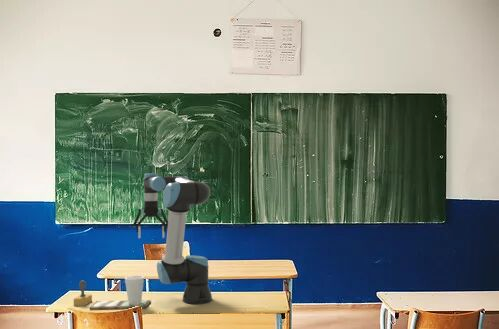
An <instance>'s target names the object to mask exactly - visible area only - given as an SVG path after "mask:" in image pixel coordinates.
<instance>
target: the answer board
mask: <svg viewBox="0 0 499 329" xmlns="http://www.w3.org/2000/svg"><path fill="white" fill-rule="evenodd" d="M151 301H152V300H149V299H141V303H140V304H136V305H131V304H129V303H128V299H127V300H96V301H94V303H93V304H92V305H91V306H90V307H89V311H92V310H93V311H94V310H95V311H96V310H97V311H99V310H105V311H106V310H107V311H108V310H129V309H128V308H132V307H135V306H141V307H142V309H141V310H147V309H148V307H149V305H150V304H151Z"/></svg>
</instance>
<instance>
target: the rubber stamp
mask: <svg viewBox="0 0 499 329" xmlns="http://www.w3.org/2000/svg"><path fill="white" fill-rule="evenodd" d="M86 286H87V282H86V281H85V280H80V281H79V283H78V287H79V289H80V292H81V293H80V294H79V295H78V296H76V297H74V298H73V307H74V306H78V307H85V306H87V305H88V304H89V303H91V302H93V294H92V293H85V289H86Z"/></svg>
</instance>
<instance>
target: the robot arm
mask: <svg viewBox="0 0 499 329" xmlns="http://www.w3.org/2000/svg"><path fill="white" fill-rule="evenodd" d="M143 181H144V182H143V184H144V186H143V187H144V188H143V190H144V192H143V194H144V195H143V196H144V199H143V200H144V206H143V207H144V208H143V209H141V208H139V209H138V214H137V215H136V217H135V219H134V222H133V223H132V225H133V226H134V227H136V229H135V230H136V233H138V234H137V235H138V236H137V238H138V239H140V238H141V237H142V236H141V234H142V233H141V226H140V225H141V224H142V223H143V222H144V220H145V219H147V217H148V218H150V217H151V218H156V219H157V220H158V221H159V222H160V223H161V224H162V226H161V227H162V228H161V230H162V231H161V232H162V233H161V234H162V239H164V238H165V232H167V233H166V241H165V242H166V244H165V253H164V254H163V255H162V256H161V260H159V261H158V262H157V263H156V271H157V272H156V273H157V277H158V280H159V281H160V283H161V284H163V285H172V284H178V283H185V288H184V293H183V294H182V302H184V303H185V304H193V305H199V304H200V305H201V304H206V303H207V304H208V303H210V302H212V301H213V294H212V292H211V289H210V286H209V260H208V258H207V257H205V256H203V255H202V256H201V255H193V254H192V255H186V256H185V257H184V255H183V252H184V251H183V249H184V240H185V231H186V221H187V214H188V213H189V212H190V211H191V207H192V206H200V205H202V204H204V203H206V202H207V201H208V200H209V199H210V196H211V188H210V185H208V184H207V183H205V182H202V181H194V180H192V179H191V180H190V179H189V177H188V176H185V175H180V176H179V175H177V176H176V175H175V176H159V175H158V174H157V173H154V172H153V173H144V177H143ZM159 191H163V194H162V198H163V200H162V201H163V202H162V203H163V205H164V206H165V207H166V210H167V211H168V217H167V216H166V214H165V210H164V208H160V209H159V202H158V198H159V195H158V192H159ZM143 213H144V215H143V217H141V216H142V214H143ZM159 213H160V214H161V216H162V217H163V219H162V217H160V215H159ZM140 217H141V219H140Z"/></svg>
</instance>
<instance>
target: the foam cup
mask: <svg viewBox="0 0 499 329" xmlns="http://www.w3.org/2000/svg"><path fill="white" fill-rule="evenodd" d="M124 283H125V288H126V290H125V291H126V296H127V300H128V303H129V304H131V305H136V304H140V303H141V300H143V299H142V298H143V289H144V283H145V277H144V276H143V275H129V276H126V277H124Z"/></svg>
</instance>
